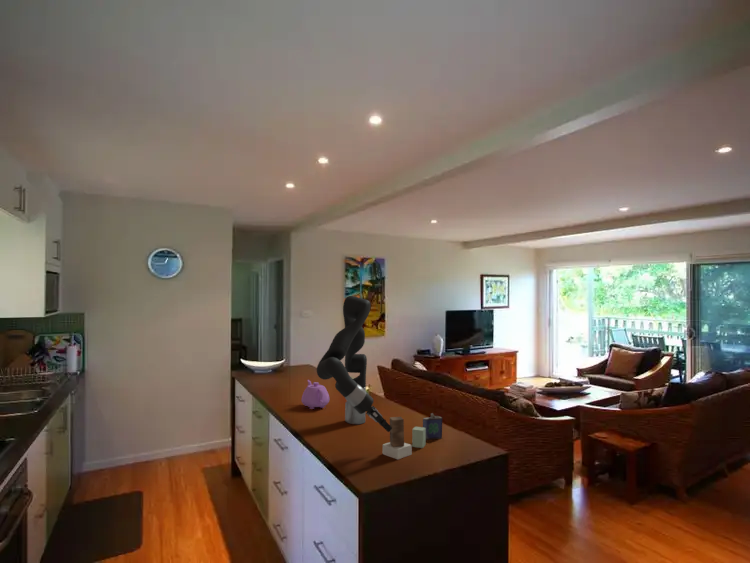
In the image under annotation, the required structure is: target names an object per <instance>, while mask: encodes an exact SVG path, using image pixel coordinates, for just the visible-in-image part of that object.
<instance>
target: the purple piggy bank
mask: <svg viewBox="0 0 750 563" xmlns="http://www.w3.org/2000/svg"><path fill="white" fill-rule="evenodd" d="M327 390H328V389H327V388H326V387H325V386H324V385H322V384H320V383H319V382H318V381H317V382H315V381H314V382H313V383H312V381H311V380H310V379H307V386H306V388H305V389H304V391H303V393H302V396H301V403H302V404H303V405H304V406H308V407H307V408H309V409H314V410H315V408H320V409H321V408H324V407H325V408H326V406H328V404H329V402H330V395H329V392H328V391H327Z"/></svg>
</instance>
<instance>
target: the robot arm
mask: <svg viewBox="0 0 750 563" xmlns="http://www.w3.org/2000/svg"><path fill="white" fill-rule="evenodd" d="M342 305H343V306H342V314H343V322H344V328H343V329H341V330H339V331H338V332H337V333H336V334H335V336H334V338H333V339H332V340H331V343H330V344H329V348H328V349H327V351H326V352H325V353H324V355H323V356H322V357H321V359H320V360H319V361H318V364H317V366H316V374H317V376H318V378H319V379H321V380H325V381H326V380H329V379H331V378H334V380H335V385H334V386H335V389H336V390H337V392H339V393H340V395H341V396H342V397H344V398H345V400H346V401H345V402H344V404H345V407H344V408H345V409H344V421H345V422H346V423H347V424H349V425H361V424H364V423H366V415H367V416H368V417H369V418H370V419H372V420H373V421H374V422H375V423H378V424H379V426H381V427H382V428H383V429H384V430H386V432H387V433H390V431H391V429H392V427H391V426H390V423H388V422H387V420H386V419H385V418H384V417H383V415H382V414H381V413H380V412H379V410H378V409H377V408H376V407H375V406H374V405H373V404H374V398H373V397H372V396H371V395H370V393H368V392H367V390H366V389H367V381H366V380H367V365H368V362H367V361H368V359H367V355H366V354H363V353H358V352H360V350H361V349H362V348H363V347H364V345H365V340H366V332H365V329H364V328H363V325H364V323H365V322H366V321H367V319H368V316H369V314H370V312H371V302H370V301H369V300H368V299H366V298H362V297H357V296H355V295H348V296H347V297H346V298H345V299H344V301H343V304H342ZM343 358H344V364H343V362H342V360H343ZM352 373H353V374H356V373H357V374H358V376H355V377H351V376H350V374H352Z"/></svg>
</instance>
